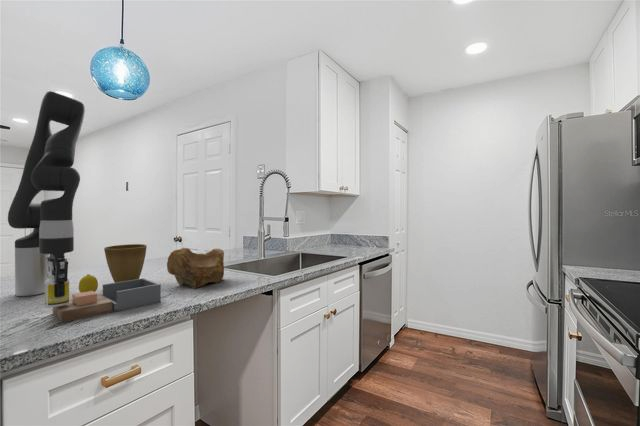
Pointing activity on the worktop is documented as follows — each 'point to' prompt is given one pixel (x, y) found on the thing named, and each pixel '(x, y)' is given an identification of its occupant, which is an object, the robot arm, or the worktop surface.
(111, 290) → the box
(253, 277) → the worktop surface
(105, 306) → the brown wavy slab
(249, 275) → the worktop surface
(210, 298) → the worktop surface
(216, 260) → the rough brown rock
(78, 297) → the block
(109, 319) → the worktop surface
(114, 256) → the plant pot
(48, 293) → the supplement bottle
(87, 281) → the lemon
